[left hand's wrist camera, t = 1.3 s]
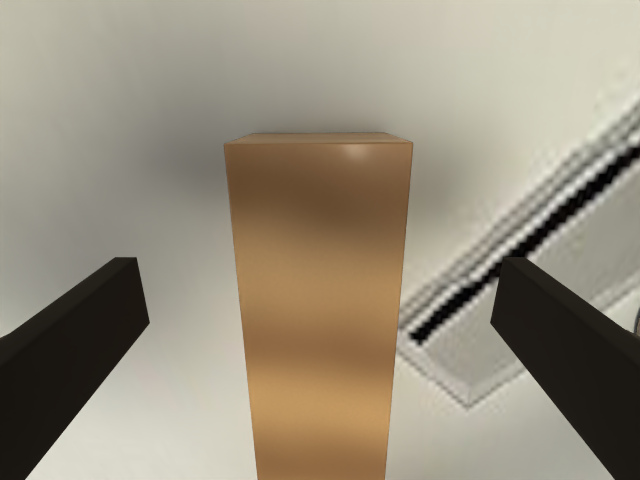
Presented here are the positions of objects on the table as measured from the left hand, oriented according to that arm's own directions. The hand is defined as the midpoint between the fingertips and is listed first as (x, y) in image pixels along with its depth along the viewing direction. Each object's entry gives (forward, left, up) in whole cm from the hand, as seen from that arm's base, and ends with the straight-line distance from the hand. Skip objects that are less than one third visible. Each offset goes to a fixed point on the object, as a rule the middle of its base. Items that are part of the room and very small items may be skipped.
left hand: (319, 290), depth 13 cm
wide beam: (+18, -20, -12) cm, 29 cm away
